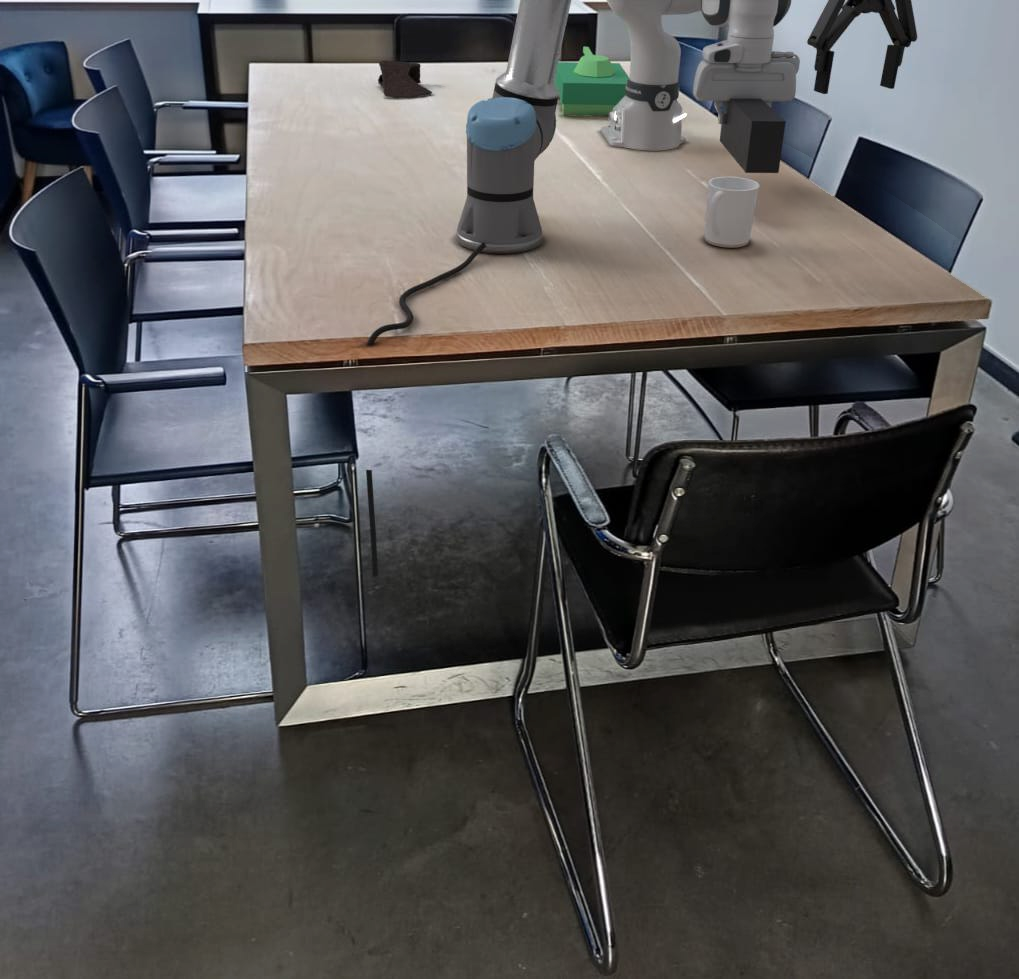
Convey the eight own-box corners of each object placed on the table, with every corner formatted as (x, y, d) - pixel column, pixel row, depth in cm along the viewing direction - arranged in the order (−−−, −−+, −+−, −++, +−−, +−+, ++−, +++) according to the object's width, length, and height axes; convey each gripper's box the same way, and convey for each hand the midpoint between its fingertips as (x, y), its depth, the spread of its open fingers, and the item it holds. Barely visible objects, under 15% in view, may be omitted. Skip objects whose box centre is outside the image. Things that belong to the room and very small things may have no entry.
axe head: (443, 87, 294) (392, 77, 287) (436, 115, 299) (385, 106, 292) (421, 62, 307) (371, 52, 300) (414, 89, 311) (365, 80, 304)
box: (778, 173, 206) (785, 121, 201) (745, 172, 206) (752, 121, 201) (749, 141, 227) (755, 93, 222) (719, 140, 227) (724, 93, 222)
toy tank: (616, 43, 300) (635, 68, 271) (613, 90, 307) (630, 119, 277) (552, 42, 300) (564, 66, 270) (550, 88, 306) (561, 118, 276)
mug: (717, 229, 203) (724, 173, 198) (760, 239, 198) (768, 183, 193) (686, 243, 196) (692, 186, 190) (730, 255, 191) (737, 196, 186)
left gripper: (925, -56, 178) (898, 80, 189) (798, -53, 170) (778, 89, 181) (958, -51, 172) (928, 89, 183) (828, -48, 164) (805, 99, 175)
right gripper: (797, 49, 218) (787, 120, 225) (695, 47, 217) (688, 119, 224) (805, 54, 213) (794, 127, 220) (701, 53, 212) (693, 126, 219)
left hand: (854, 89), depth 182 cm, fingers open, 13 cm apart
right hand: (740, 123), depth 222 cm, fingers closed on box, 6 cm apart
